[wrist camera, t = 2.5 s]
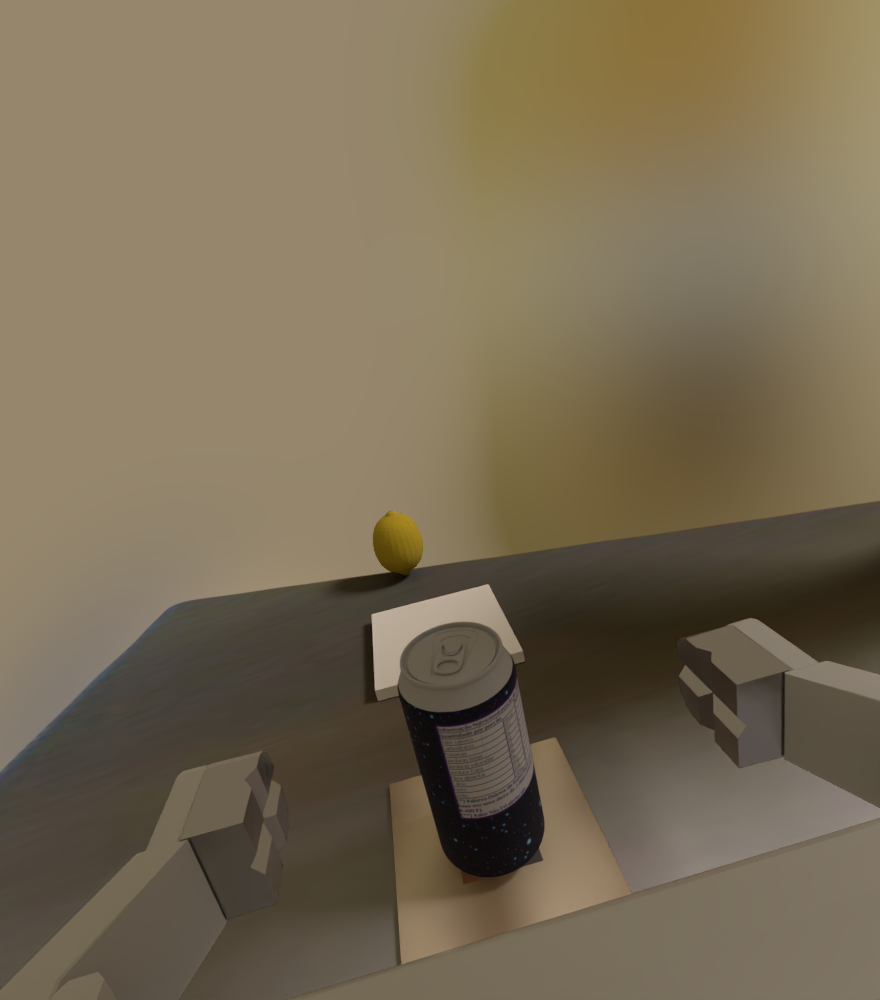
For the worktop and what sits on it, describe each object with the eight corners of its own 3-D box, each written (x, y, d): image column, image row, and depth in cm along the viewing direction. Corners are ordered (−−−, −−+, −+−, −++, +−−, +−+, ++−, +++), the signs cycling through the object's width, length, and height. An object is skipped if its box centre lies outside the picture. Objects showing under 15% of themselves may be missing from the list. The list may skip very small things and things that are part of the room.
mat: (490, 592, 54) (488, 584, 53) (524, 661, 42) (523, 651, 42) (374, 623, 53) (371, 614, 53) (377, 701, 42) (374, 690, 41)
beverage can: (547, 791, 31) (513, 612, 27) (547, 893, 25) (505, 689, 22) (451, 791, 32) (407, 621, 28) (433, 887, 27) (375, 694, 23)
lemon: (435, 562, 63) (420, 500, 61) (420, 586, 58) (403, 519, 56) (392, 564, 65) (377, 504, 63) (375, 587, 60) (357, 523, 58)
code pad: (556, 739, 34) (555, 736, 34) (641, 914, 24) (640, 911, 24) (390, 786, 34) (389, 783, 34) (403, 988, 23) (402, 985, 23)
